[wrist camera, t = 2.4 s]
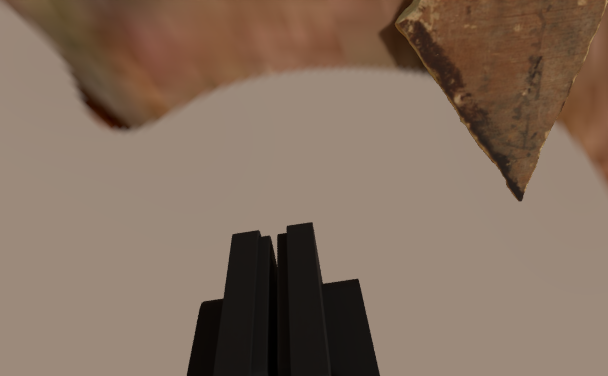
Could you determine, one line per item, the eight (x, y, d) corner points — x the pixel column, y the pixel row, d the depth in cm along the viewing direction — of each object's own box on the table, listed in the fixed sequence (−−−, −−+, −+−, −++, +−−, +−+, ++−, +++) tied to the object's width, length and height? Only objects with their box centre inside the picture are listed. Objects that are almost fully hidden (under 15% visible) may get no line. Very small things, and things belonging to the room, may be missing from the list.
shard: (508, 186, 25) (524, 206, 23) (353, 164, 24) (358, 183, 22) (614, -62, 19) (643, -58, 18) (421, -103, 18) (434, -103, 17)
